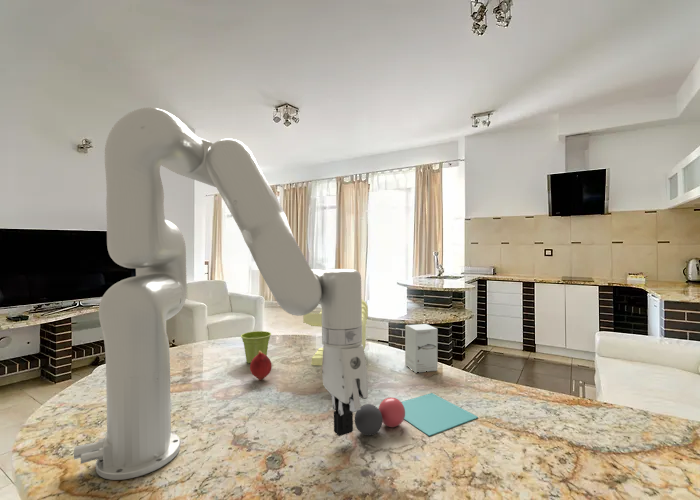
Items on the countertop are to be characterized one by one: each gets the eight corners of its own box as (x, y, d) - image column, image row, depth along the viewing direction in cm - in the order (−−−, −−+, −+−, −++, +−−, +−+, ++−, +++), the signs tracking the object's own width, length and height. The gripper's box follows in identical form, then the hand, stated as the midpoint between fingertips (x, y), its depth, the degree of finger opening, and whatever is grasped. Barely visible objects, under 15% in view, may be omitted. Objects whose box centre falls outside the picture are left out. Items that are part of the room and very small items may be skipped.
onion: (274, 376, 98) (274, 348, 98) (267, 384, 92) (267, 354, 92) (254, 375, 98) (254, 347, 98) (246, 383, 92) (246, 353, 92)
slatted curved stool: (359, 377, 96) (358, 314, 96) (303, 375, 98) (303, 313, 98) (367, 346, 126) (367, 298, 126) (325, 345, 128) (325, 297, 128)
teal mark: (429, 436, 66) (429, 435, 66) (386, 407, 78) (386, 406, 78) (478, 417, 73) (478, 416, 73) (431, 393, 85) (431, 392, 85)
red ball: (388, 434, 66) (389, 405, 67) (372, 422, 71) (373, 395, 71) (409, 429, 69) (411, 401, 69) (393, 417, 74) (394, 391, 74)
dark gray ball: (383, 405, 66) (391, 429, 67) (367, 394, 70) (375, 417, 72) (360, 422, 63) (369, 446, 64) (345, 409, 68) (354, 432, 69)
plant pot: (239, 359, 113) (239, 332, 113) (268, 355, 117) (267, 329, 116) (243, 368, 104) (243, 339, 104) (274, 363, 108) (274, 336, 108)
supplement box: (415, 373, 99) (415, 330, 99) (404, 365, 106) (404, 324, 106) (438, 371, 101) (438, 328, 101) (426, 363, 108) (426, 322, 108)
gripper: (381, 341, 60) (383, 446, 60) (340, 324, 73) (342, 411, 73) (343, 348, 56) (345, 459, 56) (307, 329, 69) (309, 420, 69)
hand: (343, 432), depth 64 cm, fingers closed
